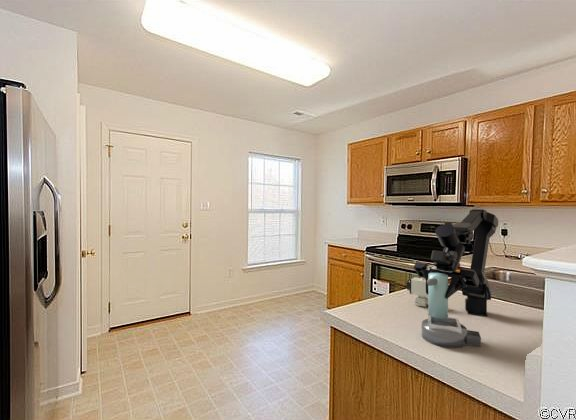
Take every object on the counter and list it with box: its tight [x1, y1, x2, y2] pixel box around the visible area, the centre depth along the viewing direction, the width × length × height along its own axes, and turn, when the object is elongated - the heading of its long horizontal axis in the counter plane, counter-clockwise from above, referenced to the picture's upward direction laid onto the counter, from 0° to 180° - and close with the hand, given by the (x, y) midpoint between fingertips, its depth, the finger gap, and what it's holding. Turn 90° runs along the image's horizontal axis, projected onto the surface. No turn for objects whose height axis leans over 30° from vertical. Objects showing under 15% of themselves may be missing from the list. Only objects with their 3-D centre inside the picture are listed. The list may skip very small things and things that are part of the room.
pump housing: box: [427, 273, 449, 319], centre depth 94 cm, size 8×6×13 cm
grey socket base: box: [421, 314, 482, 349], centre depth 94 cm, size 16×13×6 cm
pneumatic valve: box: [406, 276, 428, 308], centre depth 125 cm, size 6×12×12 cm, turn 51°
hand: (436, 295), depth 94 cm, fingers closed on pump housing, 6 cm apart
